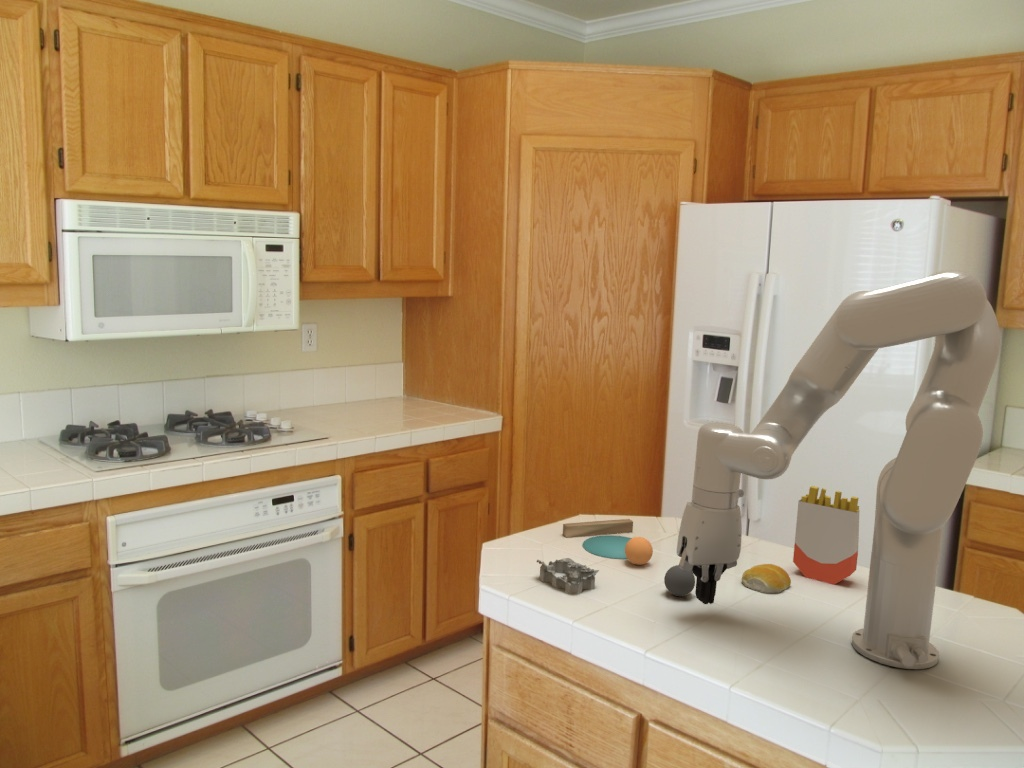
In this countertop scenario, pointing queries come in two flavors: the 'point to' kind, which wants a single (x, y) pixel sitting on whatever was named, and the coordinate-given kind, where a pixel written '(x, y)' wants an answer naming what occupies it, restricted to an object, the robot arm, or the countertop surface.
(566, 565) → the egg carton
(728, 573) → the countertop surface
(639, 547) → the object ball
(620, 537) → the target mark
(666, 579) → the dark gray ball
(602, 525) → the wooden block
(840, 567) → the french fries container
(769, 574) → the bread roll
